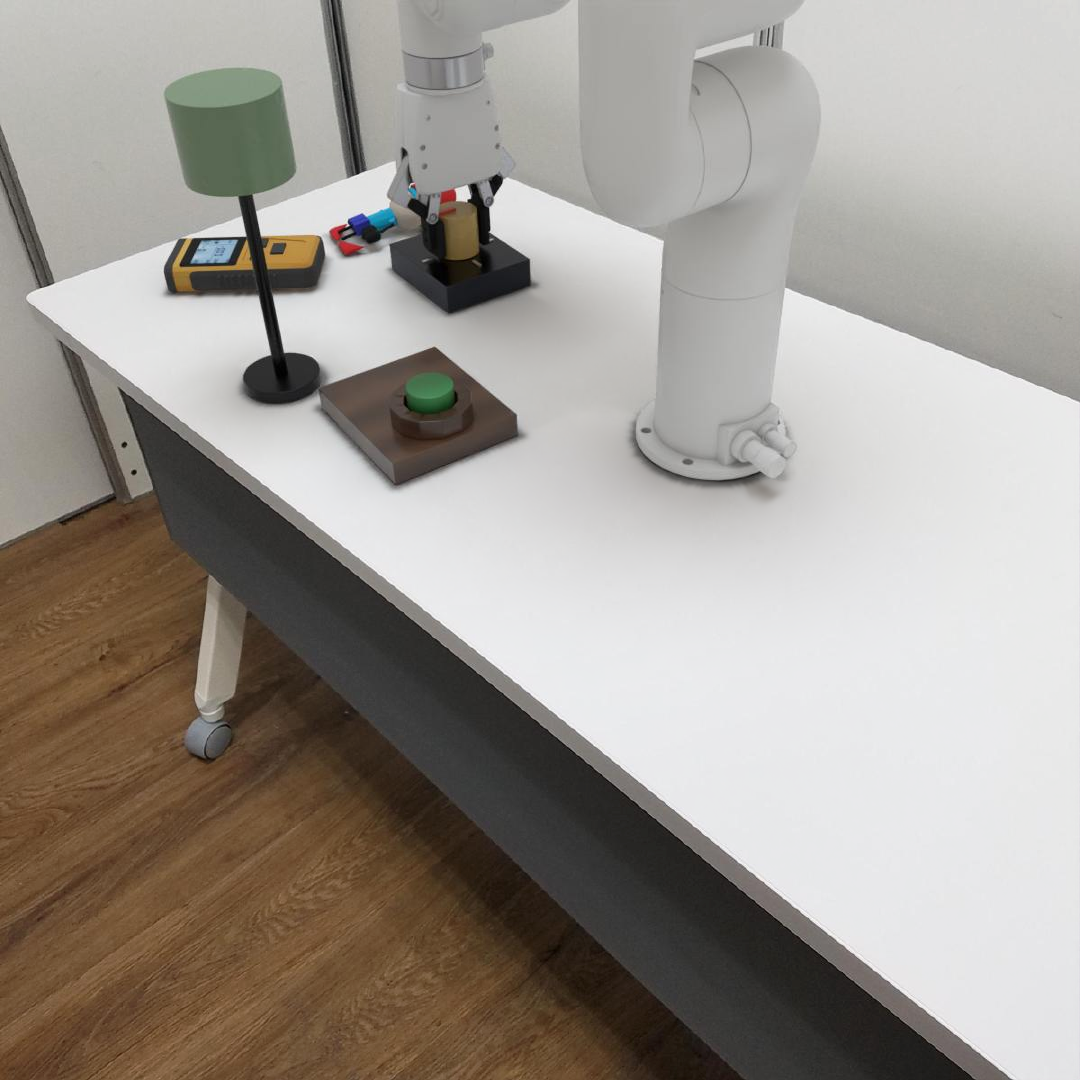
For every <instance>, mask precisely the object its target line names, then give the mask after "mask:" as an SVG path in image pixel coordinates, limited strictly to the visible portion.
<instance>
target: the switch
mask: <svg viewBox="0 0 1080 1080" xmlns="http://www.w3.org/2000/svg"><path fill="white" fill-rule="evenodd" d="M405 389H406V397H407V405H408V408H409V409H410V410H411V411H412V412H416V413H420V414H438V413H441V412H443V411H446V410H448V409H451V408H452V407H453V405H454V403H455V397H454V386H453V381H452V380H451V379H450V378H449V377H448V376H446V375H444V374H440V373H424V374H420V375H417V376H415V377H413V378H411V379H410V380H409V381H408V382H407V384H406V387H405Z"/></svg>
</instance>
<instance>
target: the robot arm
mask: <svg viewBox="0 0 1080 1080" xmlns="http://www.w3.org/2000/svg"><path fill="white" fill-rule="evenodd" d="M570 1H571V0H396V3H397V4H396V6H397V15H398V16H397V17H398V25H399V36H400V45H401V53H402V54H401V55H402V66H403V75H404V76H403V77H404V81H403V82H400V83H398V84H397V85H396V91H395V93H396V94H395V100H394V101H395V102H394V103H395V104H394V116H393V117H394V118H393V119H394V120H393V124H394V125H393V137H394V138H393V139H394V160H395V161H394V163H395V170H396V171H395V172H396V173H395V174H394V177H393V179H392V181H391V183H390V186H389V188H388V190H387V192H386V197H387V199H389V200H390V201H393V202H394V203H396V204H398V205H400V206H403V207H405V208H407V209H409V210H411V211H413V212H414V213H416V214H417V215H418V216H420V217H421V227H420V228H421V234H422V237H423V244H424V246H425V248H426V249H427V250H428V251H429V252H431V253H432V254H433V255H435V256H436V257H437V258H439V259H444V258H445V257H446V256H447V252H446V241H445V229H444V223H443V222H442V221H441V220H439V209H440V201H441V193H442V192H445V191H449V190H452V189H455V190H456V189H459V188H462V187H466V186H467V189H468V191H469V195H470V198H469V199H467V200H466V202H468V203H471V204H473V205H475V206H476V208H477V219H478V234H479V243H480V244H482V245H487V244H489V243H490V241H489V232H490V233H491V230H492V229H491V212H490V211H491V210H490V208H491V207H492V206H493V205H494V203H495V198H494V197H495V196H496V195H497V193H498V192H499V190H500V188H501V187H502V186H503V182H504V180H506V179H507V178H508V176H510V174H511V173H512V171H513V170H514V169H515V168H516V161H515V159H514V158H513V157H512V156H511V155H510V153H509V152H508V151H507V150H506V149H505V147H504V146H503V144H502V142H503V141H502V134H501V133H502V132H501V131H502V130H501V124H500V123H501V122H500V117H499V111H498V105H497V100H496V97H495V93H494V89H493V85H492V82H491V78H490V76H489V74H488V73H486V72H485V71H486V61H487V60H488V59H490V58H493V57H494V53H495V52H494V46H493V45H492V43H491V42H486V43H485V42H484V41H483V33H484V32H488V31H493V30H496V29H500V28H503V27H505V26H508V25H513V24H516V23H520V22H524V21H529V20H535V19H537V18H541V17H545V16H549V15H552V14H555V13H557V12H558V11H560V10H561V9H563V8H565V6H567V5H568V3H569V2H570ZM804 2H805V0H577V33H578V34H577V35H578V37H577V38H578V43H577V44H578V93H579V94H578V101H579V102H578V106H579V107H578V109H579V112H578V113H579V139H580V151H581V158H582V165H583V166H582V167H583V171H584V175H585V179H586V182H587V184H588V188H589V190H590V192H591V194H592V197H593V199H594V200H595V202H596V203H597V206H598V207H599V208H600V210H602V211H603V212H604V214H605V215H606V216H608V217H609V218H610V219H611V220H612V221H614V222H615V223H618V224H619V225H621V226H624V227H629V228H634V229H645V228H646V229H647V228H652V227H658V226H661V225H664V224H667V226H666V228H665V229H666V230H665V232H664V239H663V246H662V252H661V253H662V256H661V258H662V259H661V269H660V270H661V271H660V287H659V289H660V291H659V312H658V335H657V353H656V354H657V355H656V376H655V377H656V379H655V398H654V399H653V400H650V402H648V403H647V404H646V405H645V406H644V407H643V408H642V409H641V410H640V412H639V414H638V416H637V418H636V423H635V440H636V442H637V445H638V447H639V449H640V451H642V453H643V455H645V456H646V457H647V458H648V459H649V460H650V461H651V462H652V463H654V464H656V465H657V466H659V467H660V468H661V469H664V470H666V471H669V472H670V473H673V474H676V475H680V476H683V477H686V478H692V479H695V480H696V479H697V480H706V481H707V480H708V481H724V480H726V481H727V480H735V479H739V478H745V477H748V476H750V475H753V474H757V473H759V472H760V473H762V474H764V475H765V476H766V477H768V478H769V479H772V480H774V479H776V478H778V477H779V476H781V474H782V473H784V470H785V469H786V466H787V459H786V458H790V457H791V456H793V454H794V453H795V452H796V450H797V443H796V442H795V441H793V440H792V439H790V438H789V437H787V436H786V435H787V430H786V424H785V423H784V420H783V418H782V417H781V415H780V407H778V406H777V405H776V404H774V403H773V402H772V396H773V395H772V394H773V387H774V379H775V370H776V363H777V355H778V347H779V339H780V331H781V324H782V323H781V322H782V316H783V315H782V314H783V309H784V308H783V307H784V300H785V299H784V298H785V292H786V290H785V289H786V282H787V278H788V273H789V263H790V255H791V249H792V242H793V235H794V229H795V224H796V220H797V219H796V218H797V214H798V210H799V206H800V202H801V199H802V195H803V191H804V188H805V186H806V182H807V179H808V176H809V174H810V170H811V167H812V164H813V161H814V157H815V153H816V151H817V147H818V142H819V137H820V130H821V122H822V121H821V120H822V115H821V114H822V113H821V112H822V111H821V110H822V109H821V102H820V95H819V91H818V89H817V85H816V82H815V81H814V78H813V77H812V74H811V73H810V71H809V70H808V68H807V67H806V66H805V65H804V64H803V62H801V60H799V59H798V58H797V57H796V56H795V55H792V54H791V53H790V52H788V51H786V50H783V49H781V48H777V47H774V46H770V45H760V44H759V45H742V46H737V47H732V48H729V49H725V50H722V51H718V52H715V53H711V54H708V55H704V56H701V57H697V58H695V56H696V52H697V50H702V49H705V48H707V47H708V48H709V47H711V46H715V45H719V44H722V43H725V42H729V41H732V40H735V39H738V38H739V39H740V38H742V37H745V36H749V35H752V34H755V33H759V32H762V31H764V30H767V29H769V28H772V27H774V26H776V25H778V24H780V23H782V22H785V21H786V20H787V19H789V18H790V17H792V16H793V15H795V14H796V13H797V12H798V11H799V10H800V8H801V7H802V5H803V4H804ZM412 184H415V187H416V191H417V194H416V198H414V197H413V196H411V195H409V194H408V192H407V191H408V188H410V186H411V185H412Z"/></svg>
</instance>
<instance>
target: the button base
mask: <svg viewBox="0 0 1080 1080" xmlns="http://www.w3.org/2000/svg"><path fill="white" fill-rule="evenodd" d="M424 373H440V374H444V375H446V376H448V377H449V378H450V379H451V380H452V381H453V386H454V397H455V403H454V405H453V407H452V408H451V409H448V410H446V411H443V412H441V413H438V414H420V413H416V412H412V411H411V410H410V409H409V408H408V405H407V397H406V389H405V387H406V384H407V382H408V381H409V380H410V379H411V378H413V377H415V376H417V375H420V374H424ZM317 389H318V394H319V395H318V396H319V401H320V405H321V406H320V407H321V410H323V411H324V412H325V413H326V414H327V416H329V417H330V418H331V420H332V421H333V422H335V424H336V425H337V426H338V427H339V428H340V429H341V430H342V431H343V432H344V433H345V434H346V435H347V436H348V437H349V438H350V439H351V440H352V441H353V442H354V443H355V444H356V445H357V446H358V448H359V449H360V450H361V451H362V452H363V453H364V454H365V455H366V456H367V457H368V458H369V459H370V460H371V461H372V462H373V463H374V464H375V465H376V466H377V467H378V468H379V469H380V470H381V472H383V473H384V474H385V475H386V476H387V478H389V479H390V480H391V481H392V482H393V484H394V485H399V484H401V483H404V482H407V481H410V480H412V479H414V478H416V477H419V476H421V475H423V474H427V473H429V472H431V471H434V470H436V469H438V468H441V467H443V466H446V465H449V464H450V463H453V462H455V461H458V460H460V459H463V458H465V457H468V456H470V455H473V454H476V453H477V452H478V453H479V452H480V451H482V450H485V449H488V448H490V447H493V446H494V445H497V444H500V443H502V442H504V441H507V440H509V439H512V438H516V437H517V436H518V435H519V432H518V431H519V430H518V429H519V428H518V414H517V413H516V412H514V411H513V410H512V409H511V408H510V407H508V405H506V404H505V403H504V402H503V401H501V400H500V398H498V397H496V396H495V395H494V394H493V393H492V392H491V391H490V390H489V389H487V388H486V387H485V386H483V385H482V384H481V383H480V382H479V381H477V380H476V379H475V378H473V376H471V375H470V374H469V373H468V372H467V371H466V370H464V369H463V368H461V366H460V365H458V364H457V363H455V362H454V360H452V359H451V358H450V357H449V356H447V355H446V354H445V353H443V352H442V351H441V350H440V349H438V347H436V346H432V347H429V348H426V349H424V350H421V351H418V352H415V353H413V354H410V355H407V356H405V357H401V358H398V359H395V360H393V361H390V362H387V363H384V364H382V365H379V366H376V367H374V368H371V369H367V370H364V371H362V372H359V373H357V374H354V375H350V376H348V377H345V378H343V379H340V380H337V381H334V382H331V383H328V384H326V385H322V386H319V387H318V388H317Z"/></svg>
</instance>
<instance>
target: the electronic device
mask: <svg viewBox="0 0 1080 1080" xmlns="http://www.w3.org/2000/svg"><path fill="white" fill-rule="evenodd" d="M261 239H262V244H263V249H264V254H265V259H266V264H267V269H268V274H269V279H270V284H271V289H272V290H295V289H298V290H299V289H311V288H313V287H315V286H316V285H317V284H318V282H319V278H320V275H321V272H322V268H323V265H324V261H325V258H326V251H325V243H324V241H323V240H324V239H323V238H322V237H321V236H320V235H315V234H292V235H291V234H290V235H261ZM163 275H164V280H165V284H166V287H167V289H168V291H169V292H171V293H187V292H190V293H191V292H192V293H193V292H219V291H220V292H225V291H227V292H228V291H258V290H257V285H256V280H255V276H254V271H253V266H252V261H251V256H250V252H249V247H248V242H247V237H246V236H213V237H185V238H184V237H183V238H182V237H181V238H178V239H177V241H176V243H175V245H174V247H173V248H172V250H171V253H170V254H169V256H168V257H167V259H166V262H165V264H164V267H163Z"/></svg>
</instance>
